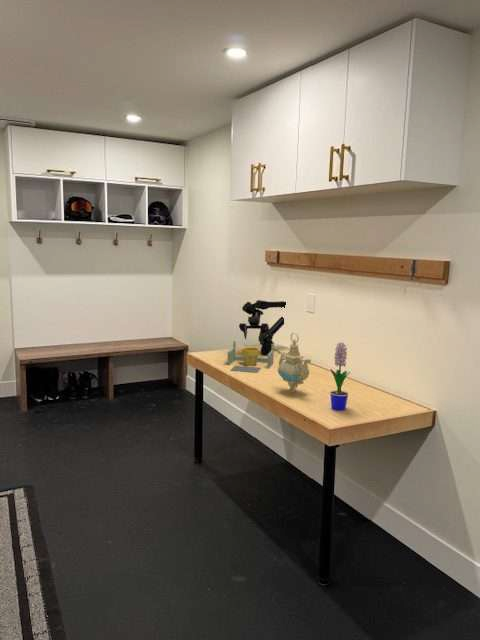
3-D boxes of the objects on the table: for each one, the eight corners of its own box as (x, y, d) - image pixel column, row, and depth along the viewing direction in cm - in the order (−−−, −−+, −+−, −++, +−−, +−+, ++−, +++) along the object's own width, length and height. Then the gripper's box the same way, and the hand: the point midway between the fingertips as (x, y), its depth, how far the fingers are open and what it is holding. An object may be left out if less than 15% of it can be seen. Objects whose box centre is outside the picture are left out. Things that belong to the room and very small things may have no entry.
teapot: (317, 396, 239) (320, 335, 235) (298, 400, 233) (300, 337, 229) (287, 384, 259) (289, 328, 255) (269, 387, 253) (270, 329, 249)
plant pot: (238, 363, 304) (239, 347, 302) (253, 362, 308) (254, 346, 307) (246, 367, 294) (246, 351, 293) (261, 365, 299) (262, 350, 297)
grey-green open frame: (233, 359, 313) (233, 341, 311) (273, 362, 307) (273, 343, 305) (227, 365, 298) (227, 345, 296) (269, 368, 293) (269, 348, 291)
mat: (234, 366, 297) (234, 365, 297) (261, 368, 293) (261, 367, 293) (230, 370, 285) (230, 370, 285) (257, 373, 282) (257, 372, 282)
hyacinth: (328, 411, 218) (331, 344, 214) (328, 404, 228) (331, 340, 224) (348, 413, 216) (352, 345, 212) (347, 405, 226) (351, 341, 222)
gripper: (238, 311, 316) (234, 332, 309) (267, 311, 311) (263, 332, 303) (243, 320, 325) (239, 341, 318) (270, 320, 320) (267, 341, 312)
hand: (252, 338), depth 312 cm, fingers open, 9 cm apart
